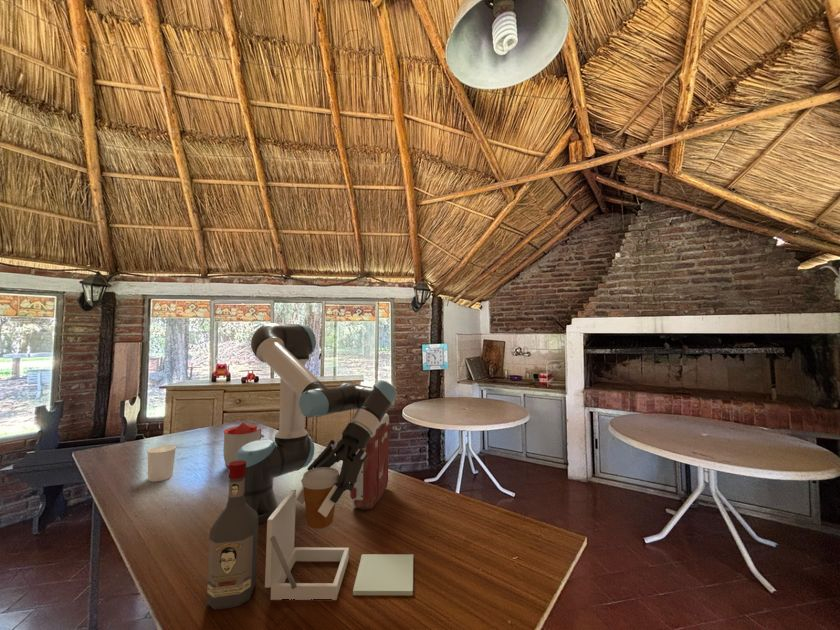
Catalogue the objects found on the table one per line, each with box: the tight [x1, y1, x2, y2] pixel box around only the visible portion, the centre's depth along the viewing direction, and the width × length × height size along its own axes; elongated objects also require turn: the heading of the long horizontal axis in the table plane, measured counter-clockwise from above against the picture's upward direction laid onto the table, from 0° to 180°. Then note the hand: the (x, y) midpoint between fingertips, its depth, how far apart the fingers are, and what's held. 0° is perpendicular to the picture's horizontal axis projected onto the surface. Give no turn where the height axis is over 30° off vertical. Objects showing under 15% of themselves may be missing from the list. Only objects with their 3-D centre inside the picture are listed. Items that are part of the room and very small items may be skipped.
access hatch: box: [264, 489, 350, 601], centre depth 89 cm, size 16×16×18 cm
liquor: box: [206, 460, 259, 611], centre depth 83 cm, size 9×9×30 cm
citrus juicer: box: [223, 422, 265, 471], centre depth 165 cm, size 16×17×20 cm
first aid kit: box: [349, 413, 392, 511], centre depth 134 cm, size 23×8×30 cm, turn 168°
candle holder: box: [147, 445, 177, 483], centre depth 150 cm, size 10×10×12 cm
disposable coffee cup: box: [300, 467, 340, 530], centre depth 90 cm, size 10×10×12 cm
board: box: [352, 553, 414, 596], centre depth 90 cm, size 14×14×1 cm
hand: (309, 507), depth 87 cm, fingers closed on disposable coffee cup, 9 cm apart
